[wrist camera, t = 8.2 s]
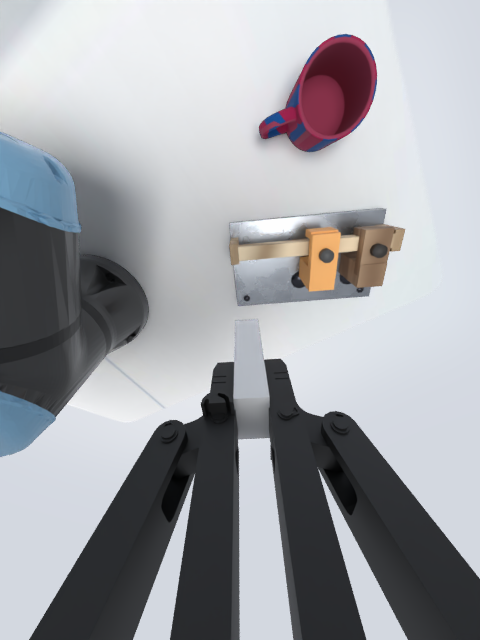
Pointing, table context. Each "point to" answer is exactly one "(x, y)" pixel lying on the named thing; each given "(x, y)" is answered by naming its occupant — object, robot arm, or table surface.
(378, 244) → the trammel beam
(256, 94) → the table surface
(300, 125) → the mug
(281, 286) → the flange plate
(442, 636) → the robot arm
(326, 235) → the slider leg
